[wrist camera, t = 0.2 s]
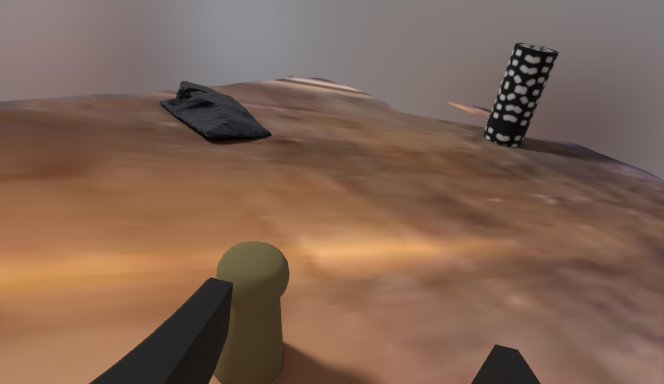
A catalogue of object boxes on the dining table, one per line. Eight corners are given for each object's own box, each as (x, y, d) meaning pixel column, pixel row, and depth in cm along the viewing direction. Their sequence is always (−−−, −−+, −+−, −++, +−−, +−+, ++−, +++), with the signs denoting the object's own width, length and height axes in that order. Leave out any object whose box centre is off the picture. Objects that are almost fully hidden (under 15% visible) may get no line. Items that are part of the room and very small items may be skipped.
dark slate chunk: (193, 149, 67) (193, 121, 65) (156, 103, 82) (155, 79, 80) (277, 139, 75) (279, 114, 73) (229, 99, 90) (230, 78, 88)
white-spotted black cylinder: (499, 147, 88) (535, 51, 78) (476, 131, 95) (507, 41, 85) (529, 147, 91) (568, 54, 81) (504, 132, 98) (537, 44, 88)
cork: (285, 331, 37) (298, 233, 32) (281, 392, 32) (295, 288, 27) (218, 326, 37) (219, 226, 31) (202, 388, 32) (200, 280, 26)
